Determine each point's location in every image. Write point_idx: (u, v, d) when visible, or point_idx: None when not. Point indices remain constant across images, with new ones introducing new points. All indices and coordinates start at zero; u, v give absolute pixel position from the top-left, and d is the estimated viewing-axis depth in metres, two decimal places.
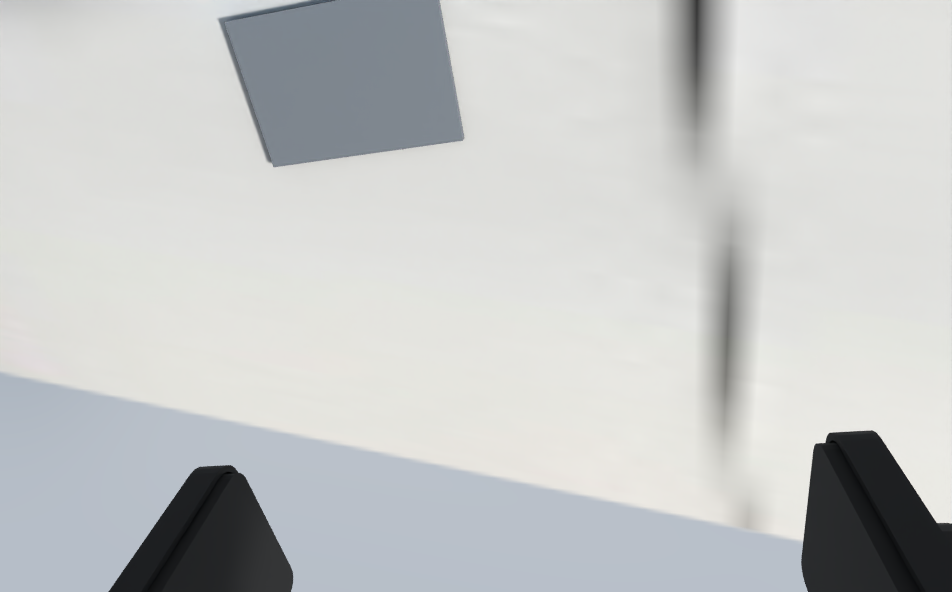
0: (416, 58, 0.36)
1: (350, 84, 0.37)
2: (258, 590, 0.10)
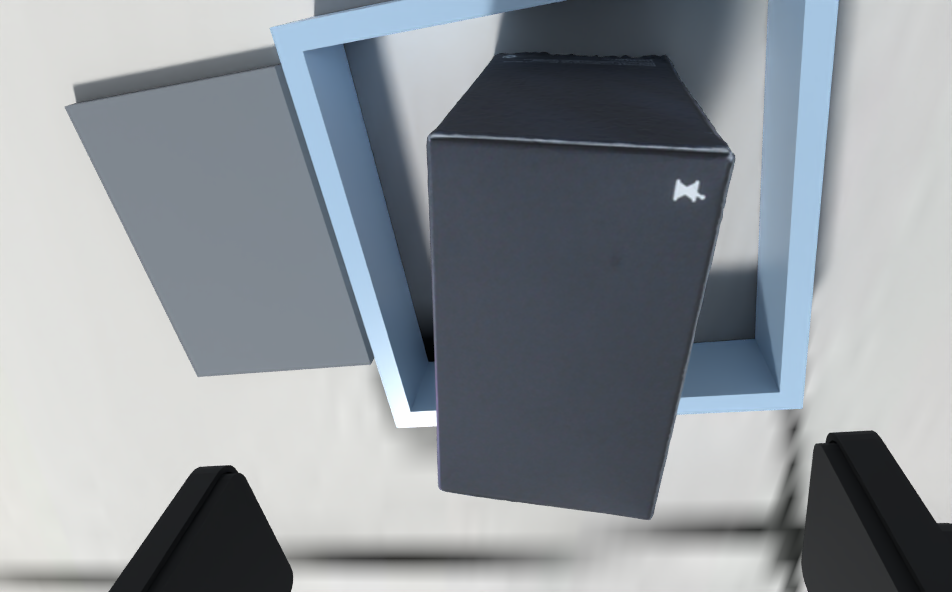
0: (281, 336, 0.27)
1: (229, 250, 0.26)
2: (258, 590, 0.10)
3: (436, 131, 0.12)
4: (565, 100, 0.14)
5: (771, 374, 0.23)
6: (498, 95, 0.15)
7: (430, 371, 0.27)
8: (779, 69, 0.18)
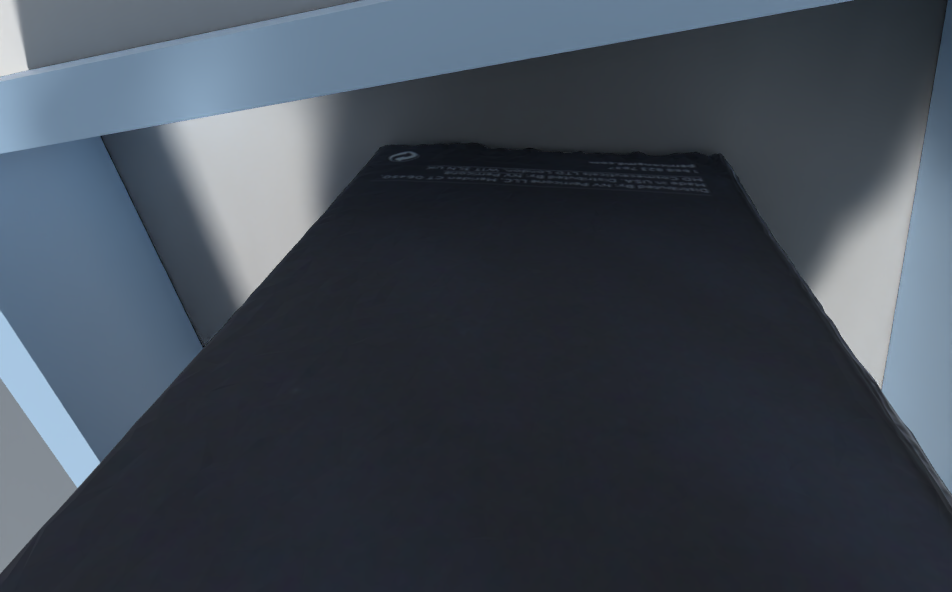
0: None
1: None
2: None
3: None
4: (475, 441, 0.04)
5: None
6: (273, 391, 0.05)
7: None
8: None
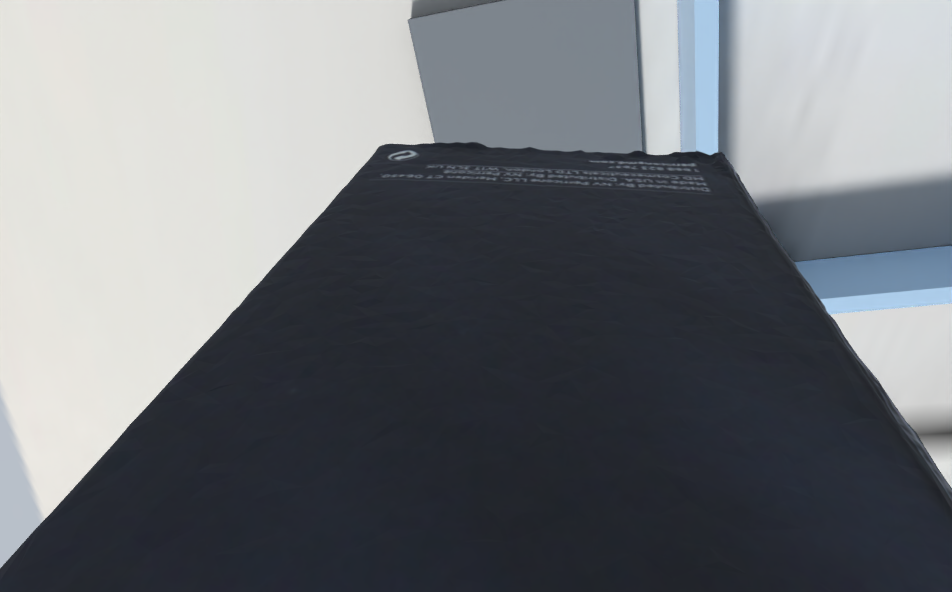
0: None
1: None
2: None
3: None
4: (475, 442, 0.04)
5: None
6: (270, 391, 0.05)
7: None
8: None
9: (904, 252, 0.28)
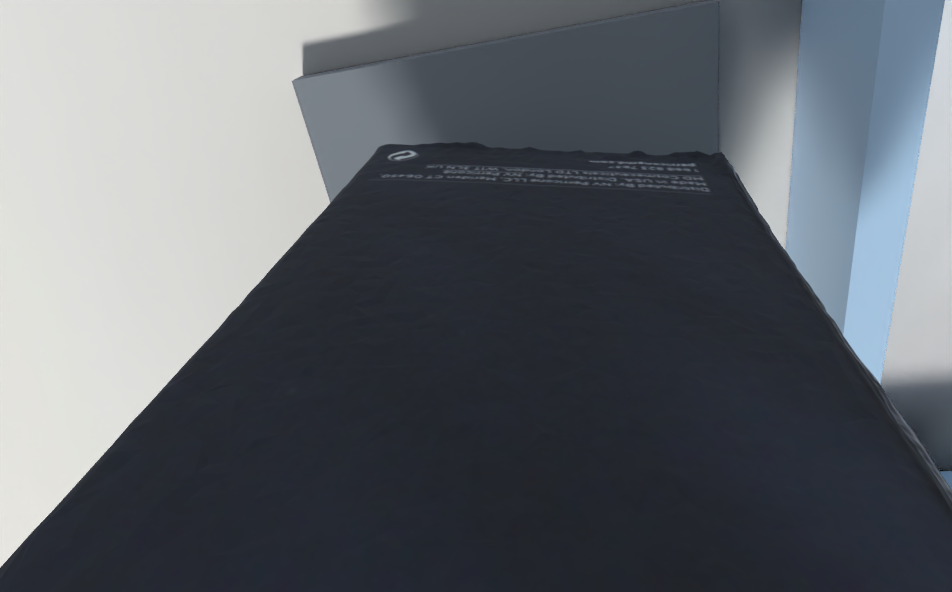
0: None
1: None
2: None
3: None
4: (474, 443, 0.04)
5: None
6: (269, 392, 0.05)
7: None
8: None
9: None
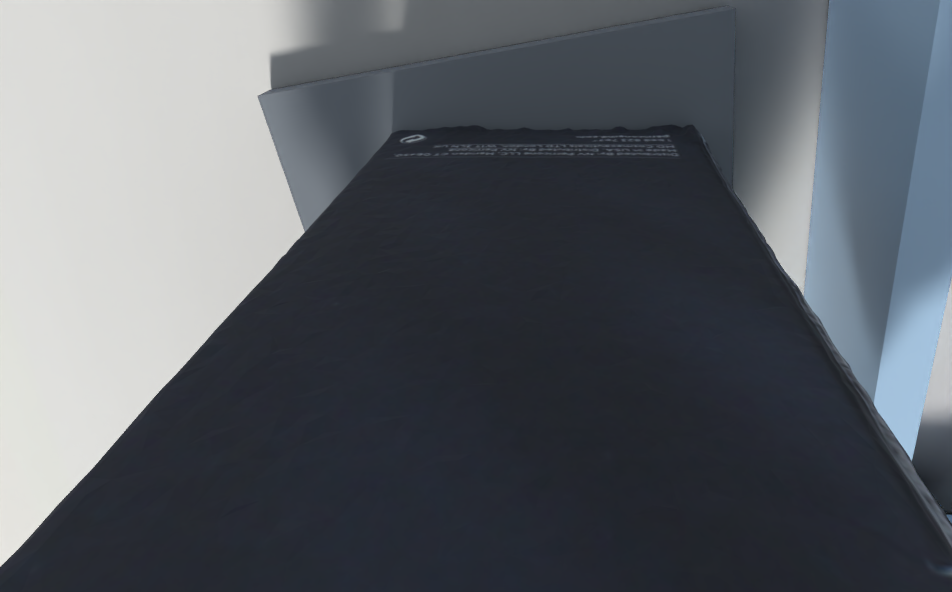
0: None
1: None
2: None
3: None
4: (475, 329, 0.06)
5: None
6: (318, 305, 0.06)
7: None
8: None
9: None
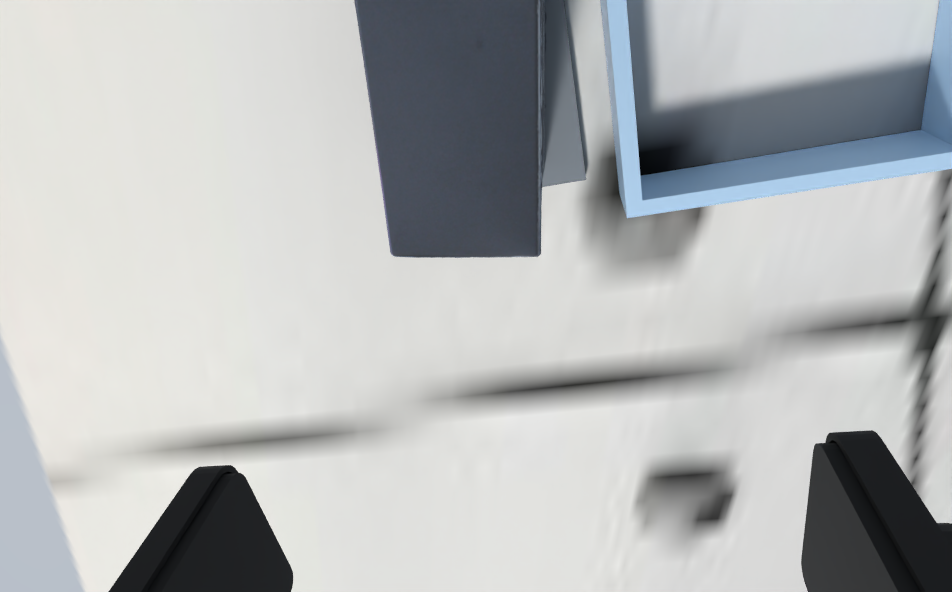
0: None
1: None
2: (258, 590, 0.10)
3: None
4: None
5: (949, 143, 0.28)
6: None
7: None
8: None
9: (810, 149, 0.31)
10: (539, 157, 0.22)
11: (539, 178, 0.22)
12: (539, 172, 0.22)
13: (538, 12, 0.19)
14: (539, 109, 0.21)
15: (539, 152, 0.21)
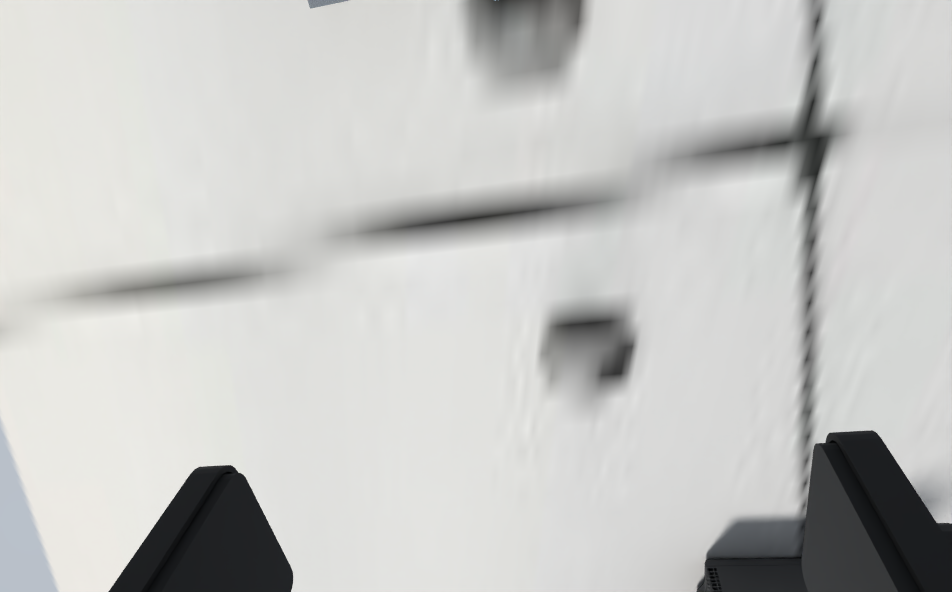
0: None
1: None
2: (258, 590, 0.10)
3: None
4: None
5: None
6: None
7: None
8: None
9: None
10: None
11: None
12: None
13: None
14: None
15: None
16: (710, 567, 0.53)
